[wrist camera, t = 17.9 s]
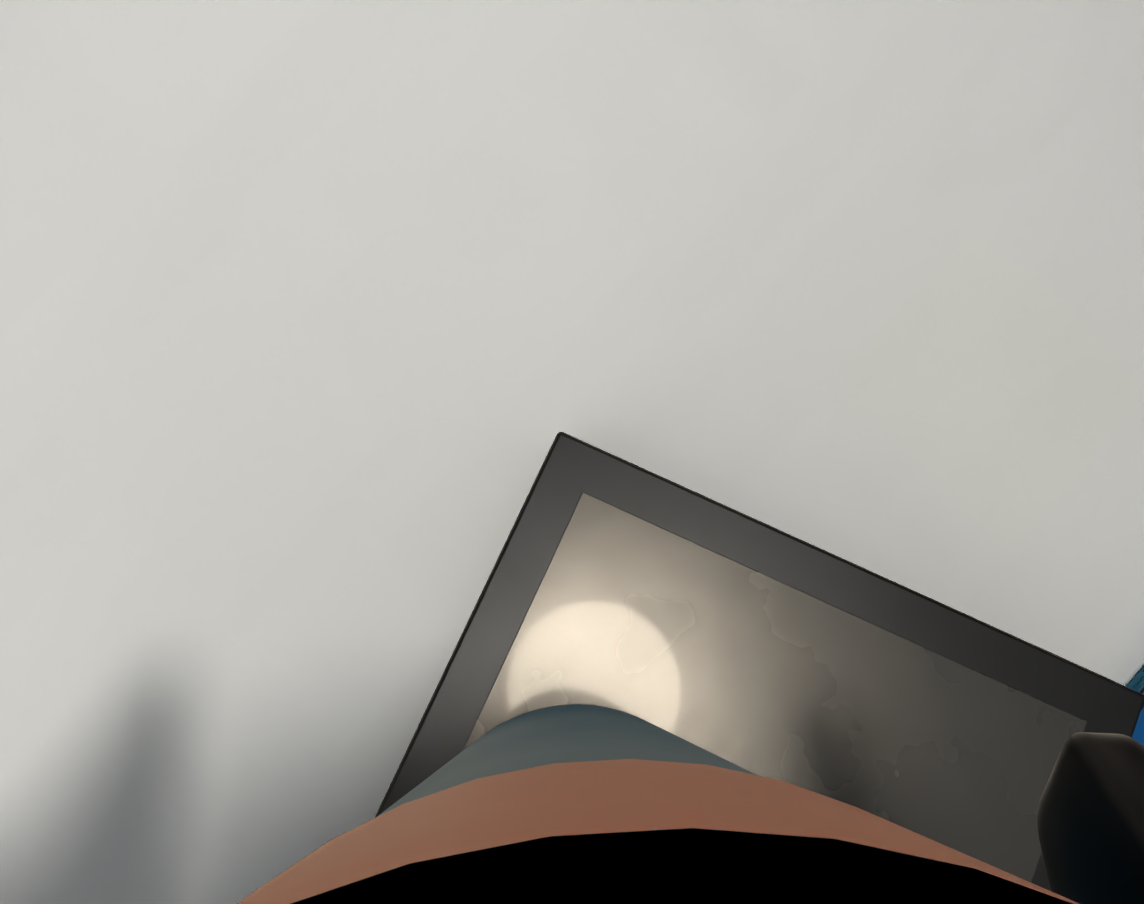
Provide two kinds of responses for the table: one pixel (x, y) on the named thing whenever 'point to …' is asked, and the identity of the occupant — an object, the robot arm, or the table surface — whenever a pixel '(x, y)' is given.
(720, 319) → the table surface
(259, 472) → the table surface
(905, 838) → the orange-capped teal tube
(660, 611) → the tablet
